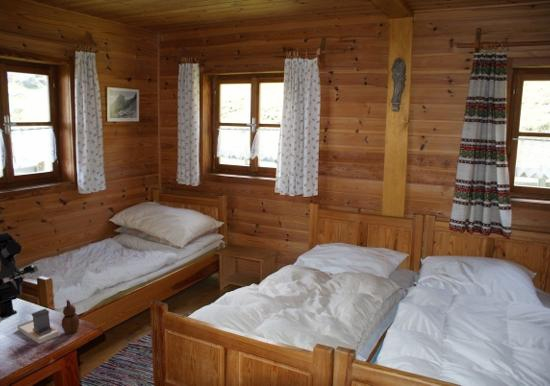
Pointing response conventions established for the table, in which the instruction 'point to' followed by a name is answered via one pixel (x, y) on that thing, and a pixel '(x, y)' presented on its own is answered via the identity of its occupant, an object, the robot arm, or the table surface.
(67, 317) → the wooden figurine
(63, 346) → the table surface
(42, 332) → the fader knob
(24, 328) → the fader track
